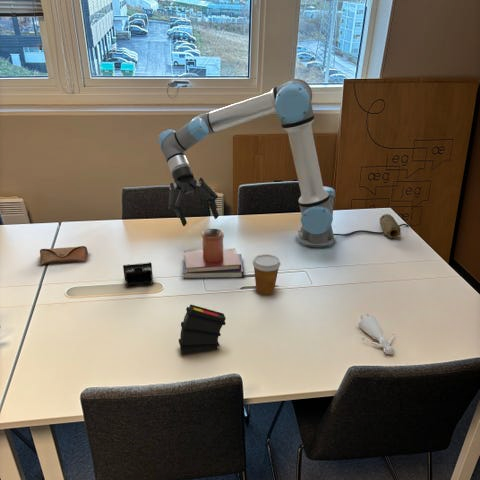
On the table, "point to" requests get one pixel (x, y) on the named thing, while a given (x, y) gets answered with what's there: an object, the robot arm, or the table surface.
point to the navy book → (215, 273)
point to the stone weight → (389, 226)
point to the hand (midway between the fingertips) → (201, 221)
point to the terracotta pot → (212, 245)
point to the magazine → (200, 330)
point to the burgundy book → (198, 264)
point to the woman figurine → (375, 333)
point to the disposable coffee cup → (265, 273)
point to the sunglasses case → (63, 255)
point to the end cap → (138, 274)
